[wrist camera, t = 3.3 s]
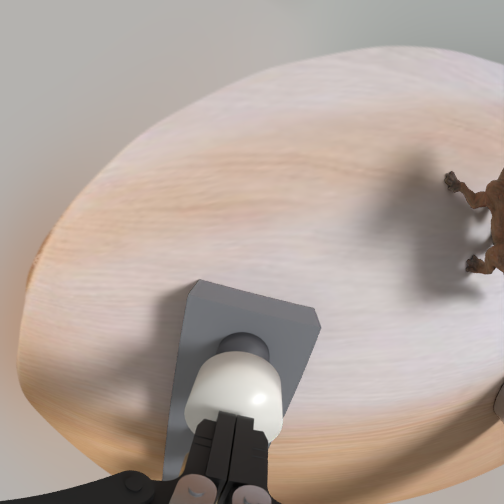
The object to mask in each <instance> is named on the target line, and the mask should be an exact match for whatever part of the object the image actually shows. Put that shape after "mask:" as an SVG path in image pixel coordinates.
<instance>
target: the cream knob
mask: <svg viewBox="0 0 504 504" xmlns="http://www.w3.org/2000/svg"><path fill="white" fill-rule="evenodd" d="M219 411H223V412H228V413H232V414H236V416H237V415H241V416H246V417H251V418H254V429H253V430H258V431H263V432H264V434H265V436H266V438H267V440H268V443H270V442H272V441H273V440H274V439H275V438H276V437H277V436H278V435H279V433H280V431H281V429H282V425H283V415H282V393H281V380H280V377H279V374H278V373H277V371H276V369H275V368H274V367H273V366H272V365H271V364H270V363H269V362H267V361H266V360H265V359H263V358H261V357H259V356H257V355H254V354H251V353H247V352H239V351H231V352H224V353H220V354H218V355H215V356H213V357H211V358H210V359H208V360H207V361H206V362H205V363H204V364H203V365H202V366H201V368H200V370H199V372H198V375H197V377H196V380H195V383H194V385H193V388H192V391H191V393H190V396H189V398H188V401H187V404H186V407H185V412H184V415H185V420H186V423H187V425H188V427H189V428H190V430H191V431H192V432H193V433H194V434H195V431H196V428H197V425H198V424H199V423H200V422H201V421H202V420H203V419H208V420H212V421H216V420H217V416H218V413H219Z"/></svg>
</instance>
